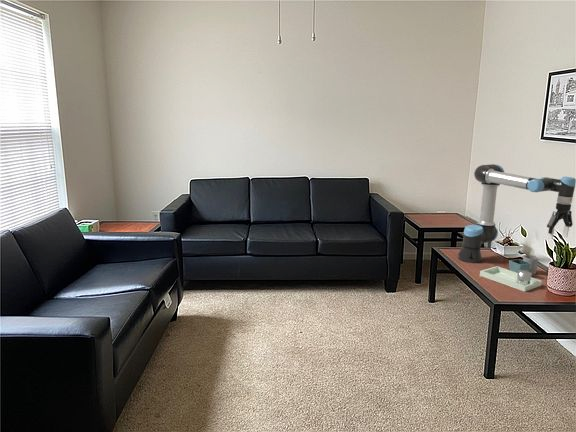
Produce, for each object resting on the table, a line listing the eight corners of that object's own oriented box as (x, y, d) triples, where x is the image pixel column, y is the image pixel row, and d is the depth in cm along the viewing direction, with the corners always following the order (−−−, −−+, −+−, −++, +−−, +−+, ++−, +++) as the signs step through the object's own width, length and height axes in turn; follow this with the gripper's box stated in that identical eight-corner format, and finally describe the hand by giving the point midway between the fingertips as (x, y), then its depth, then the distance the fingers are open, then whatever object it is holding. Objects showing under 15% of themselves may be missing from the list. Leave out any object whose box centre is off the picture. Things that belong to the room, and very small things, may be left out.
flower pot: (506, 273, 277) (508, 260, 275) (516, 272, 281) (518, 258, 279) (518, 278, 269) (520, 264, 267) (528, 277, 273) (531, 263, 271)
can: (513, 284, 257) (515, 271, 256) (520, 281, 261) (522, 269, 259) (525, 288, 252) (527, 275, 250) (531, 285, 256) (534, 273, 254)
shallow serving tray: (479, 276, 270) (480, 270, 269) (496, 272, 279) (497, 266, 278) (524, 293, 247) (525, 286, 246) (540, 287, 257) (542, 280, 256)
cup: (537, 274, 277) (540, 259, 275) (523, 273, 279) (526, 258, 277) (533, 270, 285) (535, 255, 283) (519, 269, 287) (522, 254, 285)
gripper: (556, 205, 251) (549, 241, 256) (583, 203, 261) (576, 237, 266) (544, 203, 258) (537, 237, 263) (571, 200, 268) (564, 234, 273)
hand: (557, 237), depth 265 cm, fingers open, 13 cm apart
